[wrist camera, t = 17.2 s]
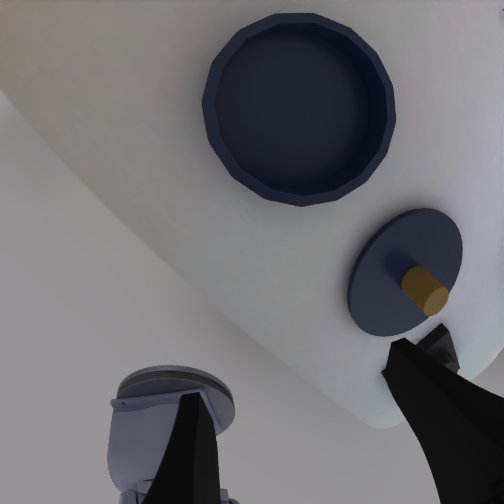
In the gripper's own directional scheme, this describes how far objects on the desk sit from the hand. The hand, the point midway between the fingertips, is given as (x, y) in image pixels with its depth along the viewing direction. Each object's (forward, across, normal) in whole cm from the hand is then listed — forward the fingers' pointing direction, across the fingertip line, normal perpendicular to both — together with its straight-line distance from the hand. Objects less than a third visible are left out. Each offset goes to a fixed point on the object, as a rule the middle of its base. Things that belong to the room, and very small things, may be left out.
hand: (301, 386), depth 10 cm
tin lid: (+10, -12, +4) cm, 16 cm away
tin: (+11, -4, -8) cm, 14 cm away
